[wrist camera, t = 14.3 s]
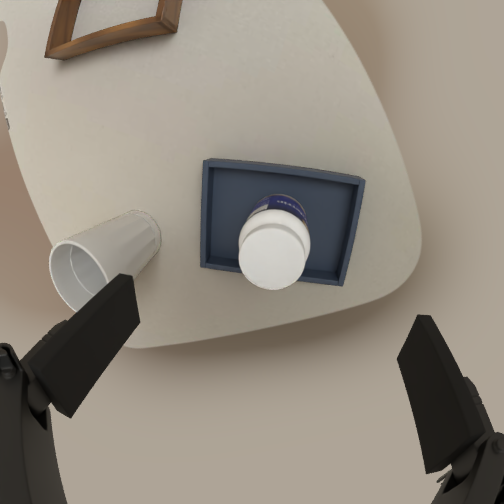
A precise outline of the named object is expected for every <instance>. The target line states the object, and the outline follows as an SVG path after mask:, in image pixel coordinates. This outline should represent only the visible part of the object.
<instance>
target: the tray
mask: <svg viewBox="0 0 504 504" xmlns="http://www.w3.org/2000/svg"><path fill="white" fill-rule="evenodd" d="M364 187H365V180H364V179H362V178H361V177H359V176H354V175H349V174H343V173H337V172H331V171H325V170H318V169H312V168H305V167H297V166H289V165H281V164H273V163H263V162H253V161H242V160H229V159H214V158H210V159H207V160H203V174H202V199H201V242H200V267H203V268H209V269H216V270H223V271H230V272H237V273H243V272H242V270H241V268H240V265H239V251H240V250H239V236H240V232H241V230H242V228H243V226H244V224H245V222H246V220H247V218H248V217H249V215H250V213H251V211H252V210H253V208H254V207H255V205H256V204H257V203H258V202H259V201H260V200H261V199H263V198H264V197H266V196H269V195H273V194H284V195H287V196H290V197H292V198H294V199H295V200H296V201H298V202H299V203H300V204H301V206H302V207H303V209H304V211H305V214H306V217H307V223H308V228H309V235H310V252H309V255H308V258H307V260H306V262H305V267H304V270H303V272H302V274H301V276H300V277H299V278H298V279H297V280H296V281H303V282H311V283H319V284H327V285H335V286H337V285H338V286H343V284H344V280H345V276H346V272H347V268H348V264H349V260H350V256H351V252H352V247H353V243H354V238H355V234H356V229H357V224H358V219H359V214H360V209H361V204H362V198H363V193H364Z"/></svg>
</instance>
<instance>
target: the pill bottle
mask: <svg viewBox="0 0 504 504" xmlns="http://www.w3.org/2000/svg"><path fill="white" fill-rule="evenodd" d="M239 250H240V251H239V265H240V268H241V270H242V272H243V274H244V276H245V277H246V278H247V279H248V280H249V281H250V282H251V283H253V284H254V285H256V286H258V287H261V288H264V289H268V290H277V289H282V288H285V287H288V286H290V285H291V284H293V283H294V282H295V281H296V280H297V279H298V278H299V277H300V276H301V274H302V272H303V270H304V267H305V262H306V260H307V258H308V255H309V252H310V235H309V228H308V223H307V217H306V214H305V211H304V209H303V207H302V206H301V204H300V203H299V202H298V201H296V200H295V199H294V198H292V197H290V196H287V195H284V194H273V195H269V196H266V197H264V198H263V199H261V200H260V201H259V202H258V203H257V204H256V205H255V207H254V208H253V210H252V211H251V213H250V215H249V217H248V218H247V220H246V222H245V224H244V226H243V228H242V230H241V232H240V236H239Z"/></svg>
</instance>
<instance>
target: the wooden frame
mask: <svg viewBox="0 0 504 504" xmlns="http://www.w3.org/2000/svg"><path fill="white" fill-rule="evenodd" d="M80 2H81V0H59V1H58V4H57V7H56V10H55V14H54V17H53V21H52V25H51V28H50V33H49V37H48V41H47V46H46V51H45V56H44V58H51V59H58V60H66V59H69V58H72V57H74V56H77V55H80V54H83V53H86V52H89V51H92V50H96V49H99V48H103V47H106V46H110V45H114V44H117V43H122V42H126V41H130V40H135V39H139V38H144V37H150V36H155V35H162V34H168V33H175V32H177V27H178V21H179V15H180V10H181V4H182V0H159V3H158V7H157V12H156V16H154V17H149V18H144V19H140V20H136V21H132V22H128V23H124V24H120V25H117V26H113V27H110V28H107V29H103V30H100V31H97V32H94V33H91V34H88V35H86V36H83V37H80V38H78V39H75V40H73V41H71V37H72V32H73V28H74V24H75V20H76V16H77V12H78V9H79V5H80Z"/></svg>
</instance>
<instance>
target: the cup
mask: <svg viewBox="0 0 504 504" xmlns="http://www.w3.org/2000/svg"><path fill="white" fill-rule="evenodd" d="M160 245H161V234H160V230H159V228H158V226H157V224H156V222H155V221H154V220H153V219H152V218H151V217H150V216H149V215H148V214H146V213H144V212H142V211H136V210H135V211H129V212H127V213H125V214H124V215H122V216H119V217H117V218H114V219H112V220H109V221H107V222H104V223H102V224H100V225H97V226H95V227H93V228H90V229H88V230H86V231H83V232H81V233H78V234H76V235H74V236H71V237H69V238H67V239H64V240H62V241H60V242H58V243H57V244H56V245H55V246H54V247H53V248H52V250H51V253H50V257H49V268H50V274H51V278H52V281H53V283H54V286H55V288H56V290H57V291H58V293H59V295H60V296H61V298H62V299H63V300H64V301H65V303H66V304H67V305H68V306H69V307H70V308H71V309H73V310H74V311H75V312H78V311H79V310H80V309H81V308H82V307H83V306H84V305H85V304H86V303H87V302H88V301H89V300H90V299H91V298H92V297H94V296H95V295H96V294H97V293H98V292H99V291H100V290H101V289H102V288H103V287H104V286H106V285H107V284H108V283H109V282H110V281H111V280H112V279H113V278H115V277H116V276H117V275H118V274H119V273H122V274H127V275H132V276H133V280H134V279H135V278H136V277H137V275H138V274H139V273H140V272H141V270H142V269H143V268H144V267H145V265H146V264H147V263H148V262H149V261H150V259H151V258H152V257H153V256H154V255H155V254H156V253H157V252H158V250H159V248H160Z"/></svg>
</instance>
